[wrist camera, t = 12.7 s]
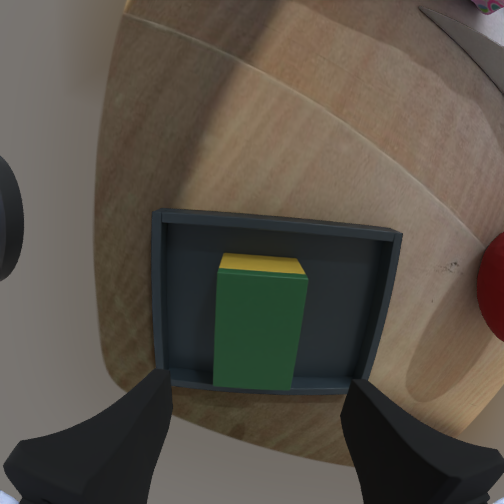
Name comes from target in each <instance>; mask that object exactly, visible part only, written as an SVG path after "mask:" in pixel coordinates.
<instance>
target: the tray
mask: <svg viewBox="0 0 504 504" xmlns="http://www.w3.org/2000/svg"><path fill="white" fill-rule="evenodd" d="M402 236H403V233H401V232H398V231H396V230H393V229H391V228H387V227H378V226H369V225H361V224H352V223H342V222H333V221H323V220H313V219H302V218H292V217H281V216H269V215H257V214H244V213H231V212H217V211H202V210H187V209H169V208H161V209H158V210H156V211H153V212H152V233H151V280H152V313H153V333H154V349H155V362H156V369H163V370H170V376H171V386H177V387H185V388H193V389H202V390H212V391H223V392H236V393H251V394H274V395H335V394H347V393H348V390H349V386H350V383H351V380H352V379H366V380H367V381H368V379H369V376H370V373H371V369H372V366H373V363H374V360H375V356H376V353H377V349H378V346H379V342H380V339H381V335H382V331H383V327H384V324H385V320H386V316H387V312H388V307H389V303H390V299H391V294H392V290H393V285H394V280H395V275H396V270H397V265H398V260H399V254H400V249H401V243H402ZM224 253H234V254H247V255H260V256H273V257H286V258H296V259H297V260H298V262H299V263H300V265H301V267H302V269H303V270H304V272H305V274H306V276H307V277H308V286H307V293H306V300H305V307H304V313H303V320H302V326H301V332H300V338H299V344H298V350H297V356H296V361H295V367H294V372H293V378H292V383H291V388H290V390H261V389H243V388H229V387H217V386H213V363H214V332H215V306H216V285H217V272H218V269H219V266H220V263H221V260H222V257H223V254H224Z"/></svg>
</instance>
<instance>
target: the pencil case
mask: <svg viewBox="0 0 504 504" xmlns="http://www.w3.org/2000/svg"><path fill="white" fill-rule="evenodd" d="M471 1H473V2H474V3H475V5H476V6H477V8H478V9H479V11H481V12H482V13H483V14H485V15H489V14H492V13H493V12H495V11H497V10H498V9H500V8H503V7H504V0H471Z"/></svg>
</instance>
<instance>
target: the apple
mask: <svg viewBox="0 0 504 504" xmlns="http://www.w3.org/2000/svg"><path fill="white" fill-rule="evenodd" d="M477 299H478V304H479V308H480V310H481V313H482V316H483V318H484V319H485V321H486V323H487V325H488V326H489V328H490V329H491V330H492V332H493V333H494V334H495V335H496V336H497V337H498V338H499V339H500V340H502V341H503V342H504V232H502V233H501V234H499V235H498V236H497V237H496V238H495V239H494V240H493V241H492V242H491V243H490V245H489V246H488V248H487V249H486V251H485V253H484V255H483V258H482V262H481V265H480V269H479V273H478V276H477Z"/></svg>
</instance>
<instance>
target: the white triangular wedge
mask: <svg viewBox="0 0 504 504" xmlns="http://www.w3.org/2000/svg"><path fill="white" fill-rule="evenodd" d="M419 8H420V9H421V11H422V12H424V13H425V14H426V15H427V16H428V17H429V18H430V19H432V20H433V21H434V22H435V23H436V24H437V25H438V26H440V27H441V28H442V29H443V30H444V31H445V32H446V33H447V34H448V35H449V36H450V37H451V38H453V39H454V40H455V41H456V42H457V43H458V44H459V45H460V46H461V47H462V48H463V49H464V50H465V51H466V52H467V53H468V54H469V55H470V56H471V57H472V58H473V60H474V61H475V62H476V63H477V64H478V65H479V66H480V67H481V68H482V69H483V70H484V72H485V73H486V74H487V75H488V76H489V77H490V78H491V80H492V81H493V82H494V83H495V84H496V85H497V87H498V88H499V89H500V90H501V92H502V93H503V94H504V46H502V45H500V44H499V43H497V42H495V41H494V40H492V39H490V38H488V37H487V36H485V35H483V34H481V33H480V32H478V31H476V30H474V29H472V28H470V27H468V26H466V25H464V24H462V23H460V22H458V21H456V20H454V19H452V18H450V17H447V16H445V15H443V14H441V13H438V12H436V11H433V10H431V9H428V8H426V7H422V6H419Z"/></svg>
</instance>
